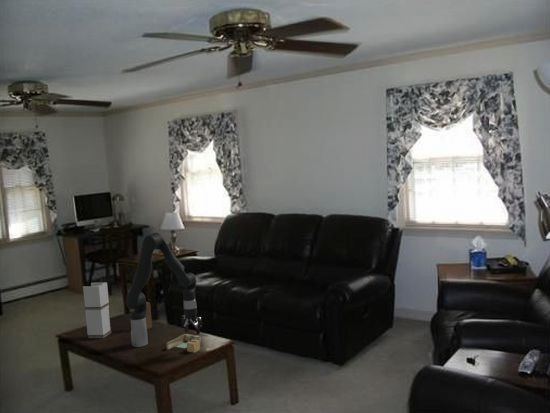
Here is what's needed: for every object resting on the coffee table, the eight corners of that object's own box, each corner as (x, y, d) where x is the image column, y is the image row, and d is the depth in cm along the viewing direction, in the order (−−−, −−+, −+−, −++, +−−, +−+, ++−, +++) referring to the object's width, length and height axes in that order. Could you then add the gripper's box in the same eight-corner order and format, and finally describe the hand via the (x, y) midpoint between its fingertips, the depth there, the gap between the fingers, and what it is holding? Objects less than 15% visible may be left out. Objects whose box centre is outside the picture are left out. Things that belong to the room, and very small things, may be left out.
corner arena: (166, 349, 299) (166, 343, 298) (185, 339, 313) (184, 333, 313) (183, 352, 292) (182, 345, 292) (201, 342, 307) (200, 336, 306)
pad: (175, 346, 302) (175, 346, 302) (183, 342, 308) (183, 342, 308) (184, 348, 298) (184, 348, 298) (192, 344, 305) (192, 343, 305)
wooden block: (140, 331, 336) (138, 305, 334) (137, 329, 339) (135, 304, 338) (152, 327, 342) (150, 302, 340) (149, 326, 345) (147, 301, 344)
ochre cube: (187, 351, 293) (186, 342, 293) (193, 348, 298) (192, 339, 298) (194, 352, 291) (193, 343, 290) (200, 349, 295) (199, 340, 295)
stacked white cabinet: (111, 332, 337) (106, 282, 334) (103, 338, 327) (98, 286, 324) (96, 332, 339) (91, 282, 336) (87, 338, 329) (82, 286, 326)
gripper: (176, 307, 292) (179, 334, 294) (195, 309, 285) (197, 336, 286) (185, 304, 299) (187, 330, 300) (203, 306, 292) (205, 332, 293)
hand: (192, 333), depth 293 cm, fingers open, 8 cm apart
